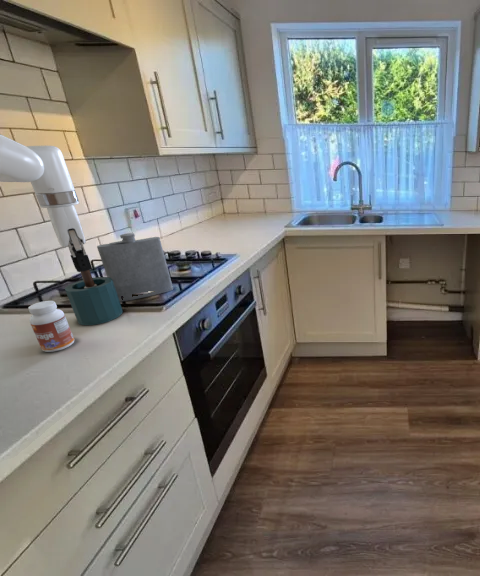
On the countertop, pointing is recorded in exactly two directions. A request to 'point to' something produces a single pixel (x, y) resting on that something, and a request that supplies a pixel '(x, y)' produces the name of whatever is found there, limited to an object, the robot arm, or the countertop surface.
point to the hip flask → (136, 266)
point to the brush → (87, 279)
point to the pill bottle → (50, 326)
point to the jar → (94, 301)
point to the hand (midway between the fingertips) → (83, 268)
